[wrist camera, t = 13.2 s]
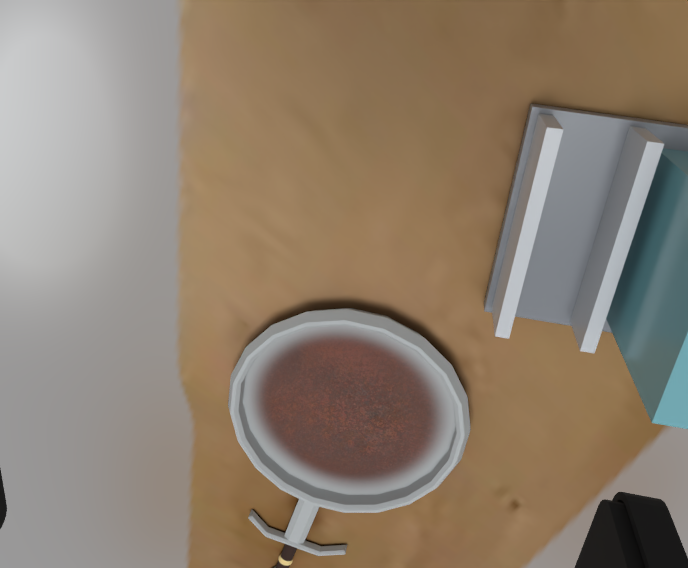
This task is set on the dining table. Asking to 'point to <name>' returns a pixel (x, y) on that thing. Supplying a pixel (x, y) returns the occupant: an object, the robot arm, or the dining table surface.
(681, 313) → the teal upright slab
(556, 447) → the dining table surface
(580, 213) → the dish rack
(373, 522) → the dining table surface
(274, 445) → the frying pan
